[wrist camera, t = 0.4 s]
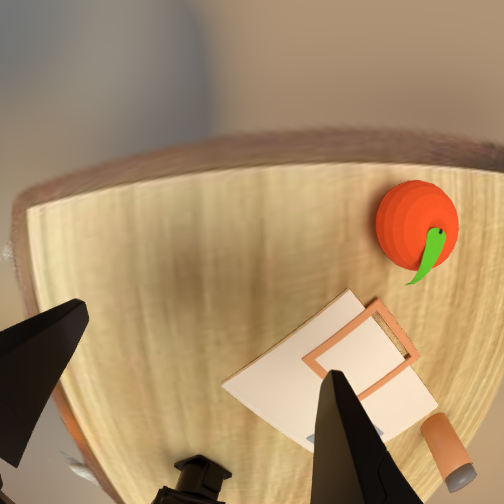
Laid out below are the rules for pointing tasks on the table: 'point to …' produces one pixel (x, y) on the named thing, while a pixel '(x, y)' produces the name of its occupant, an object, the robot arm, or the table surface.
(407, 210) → the clementine
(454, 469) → the marker
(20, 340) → the robot arm
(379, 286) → the table surface
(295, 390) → the picture sheet
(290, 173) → the table surface
